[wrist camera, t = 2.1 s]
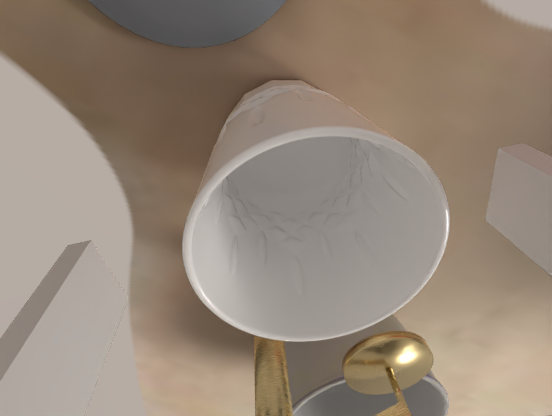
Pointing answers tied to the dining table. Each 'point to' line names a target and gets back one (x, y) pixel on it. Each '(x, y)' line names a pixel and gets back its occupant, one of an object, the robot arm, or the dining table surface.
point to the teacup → (334, 390)
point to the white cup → (311, 218)
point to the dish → (189, 19)
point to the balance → (347, 370)
